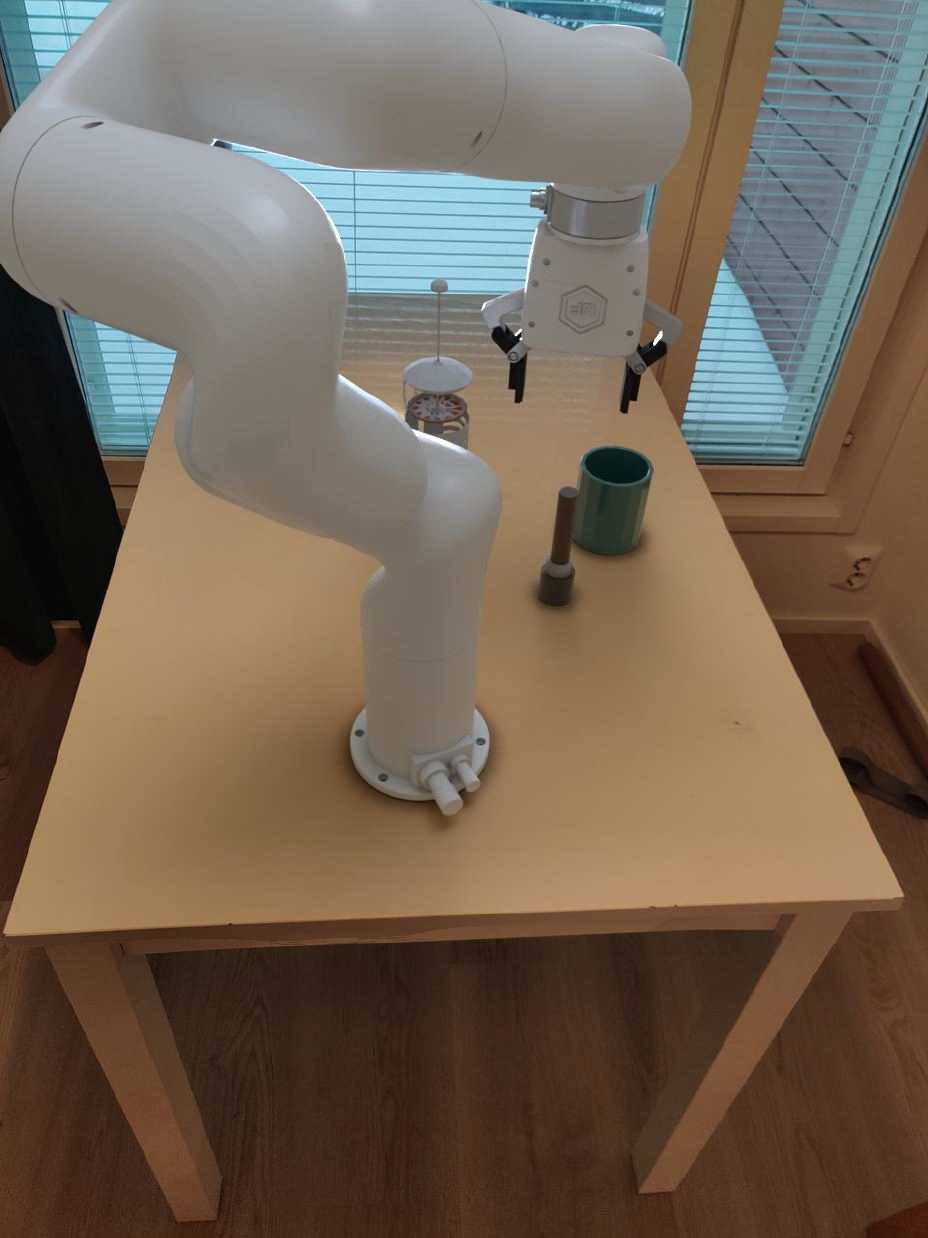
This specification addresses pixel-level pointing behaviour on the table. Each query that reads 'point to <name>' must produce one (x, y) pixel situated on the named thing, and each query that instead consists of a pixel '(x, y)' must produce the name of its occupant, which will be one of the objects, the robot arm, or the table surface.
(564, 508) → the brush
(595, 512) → the cup
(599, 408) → the table surface
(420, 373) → the french press
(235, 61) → the robot arm
